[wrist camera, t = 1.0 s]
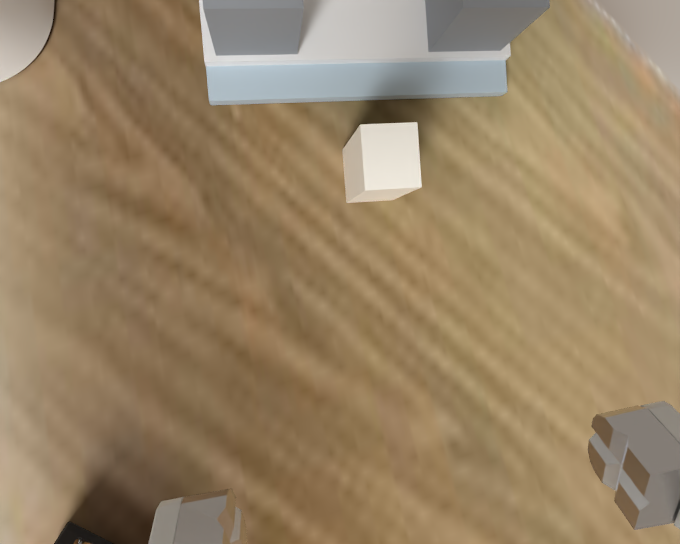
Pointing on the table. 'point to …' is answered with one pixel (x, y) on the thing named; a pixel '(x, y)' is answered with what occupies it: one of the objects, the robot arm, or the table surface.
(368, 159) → the block
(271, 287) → the table surface
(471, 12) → the twin block stand
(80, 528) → the ammunition clip
